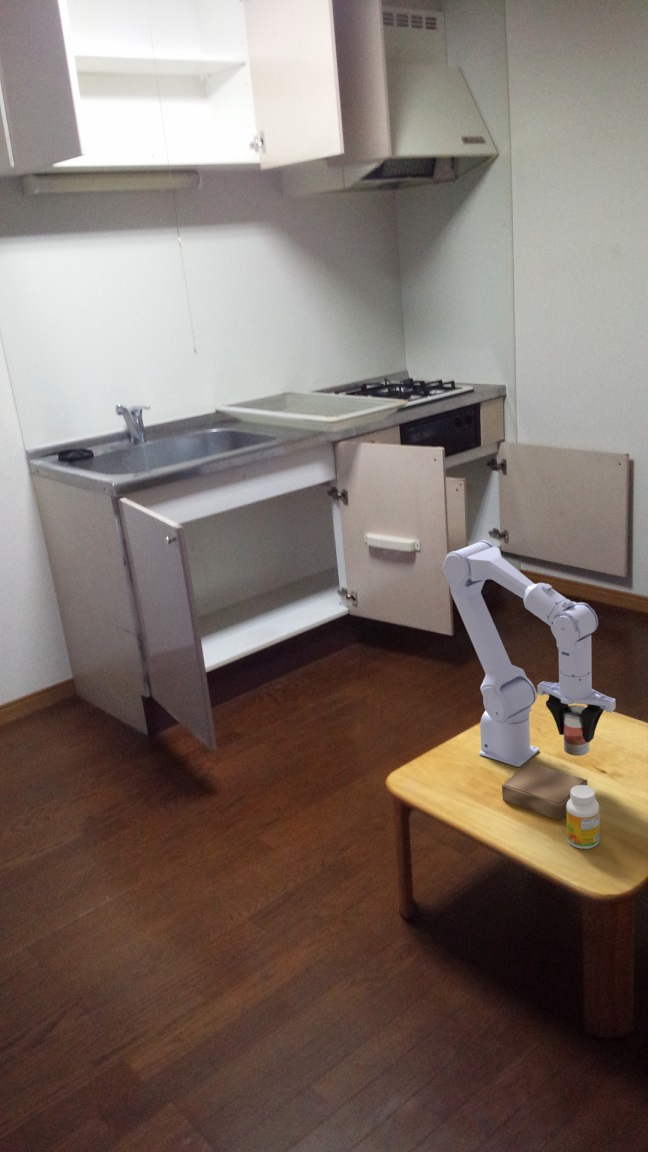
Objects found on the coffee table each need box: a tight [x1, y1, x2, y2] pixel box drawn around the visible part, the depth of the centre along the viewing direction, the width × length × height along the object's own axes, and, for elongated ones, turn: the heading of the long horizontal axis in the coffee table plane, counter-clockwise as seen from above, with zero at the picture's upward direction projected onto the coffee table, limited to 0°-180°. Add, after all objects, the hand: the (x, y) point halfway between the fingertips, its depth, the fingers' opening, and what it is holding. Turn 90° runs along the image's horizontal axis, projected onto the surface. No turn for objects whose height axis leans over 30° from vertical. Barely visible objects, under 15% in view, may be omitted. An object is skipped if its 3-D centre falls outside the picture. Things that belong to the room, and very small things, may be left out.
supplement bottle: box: [566, 785, 601, 850], centre depth 152 cm, size 5×5×10 cm
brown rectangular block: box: [501, 761, 589, 821], centre depth 166 cm, size 12×10×3 cm
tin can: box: [562, 704, 590, 757], centre depth 167 cm, size 5×5×8 cm
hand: (576, 736), depth 167 cm, fingers closed on tin can, 5 cm apart
